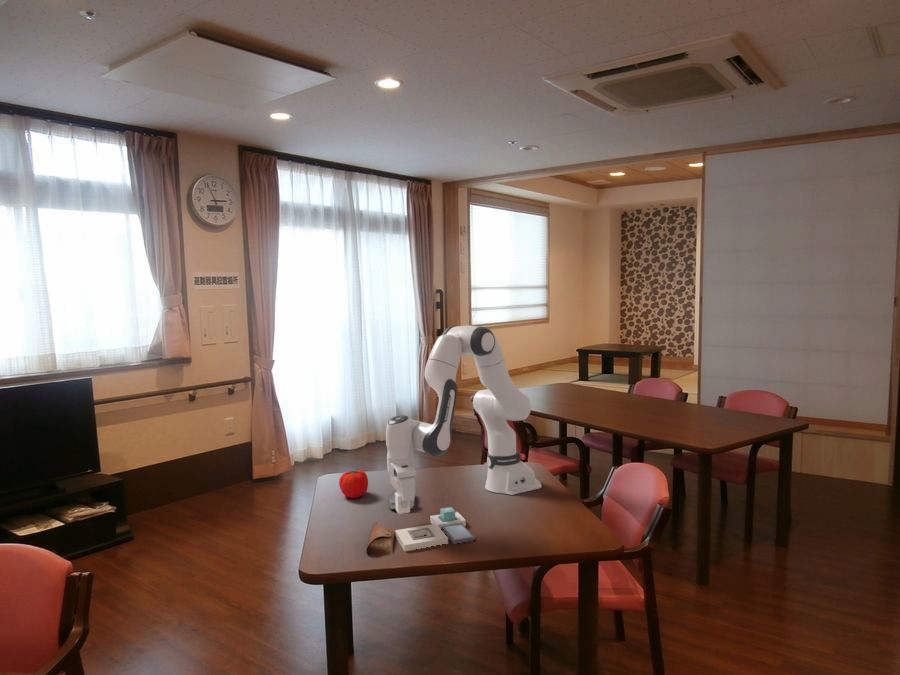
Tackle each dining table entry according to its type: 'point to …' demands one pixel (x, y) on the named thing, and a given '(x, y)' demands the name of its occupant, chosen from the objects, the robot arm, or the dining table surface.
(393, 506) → the handheld device
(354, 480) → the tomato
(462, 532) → the phone dock
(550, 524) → the dining table surface
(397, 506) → the charger
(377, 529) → the sunglasses case
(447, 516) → the teal small block
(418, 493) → the dining table surface
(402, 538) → the outlet plate
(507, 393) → the robot arm
